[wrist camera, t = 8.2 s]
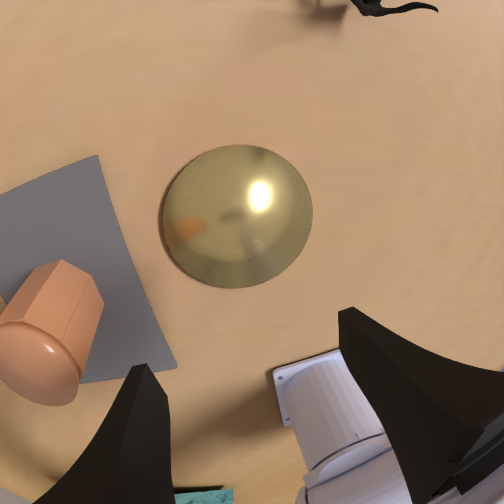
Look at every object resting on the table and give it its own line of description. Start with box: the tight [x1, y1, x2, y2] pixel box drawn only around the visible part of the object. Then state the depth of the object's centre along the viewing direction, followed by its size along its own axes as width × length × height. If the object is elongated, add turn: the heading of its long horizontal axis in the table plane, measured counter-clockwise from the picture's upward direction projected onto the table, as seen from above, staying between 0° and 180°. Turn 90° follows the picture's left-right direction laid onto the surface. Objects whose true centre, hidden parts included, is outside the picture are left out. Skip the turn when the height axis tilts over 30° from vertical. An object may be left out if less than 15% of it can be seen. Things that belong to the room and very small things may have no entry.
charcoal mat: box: [0, 155, 177, 384], centre depth 18 cm, size 16×11×1 cm
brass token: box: [163, 145, 313, 288], centre depth 18 cm, size 9×9×1 cm
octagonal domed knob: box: [0, 259, 105, 406], centre depth 15 cm, size 5×5×7 cm
